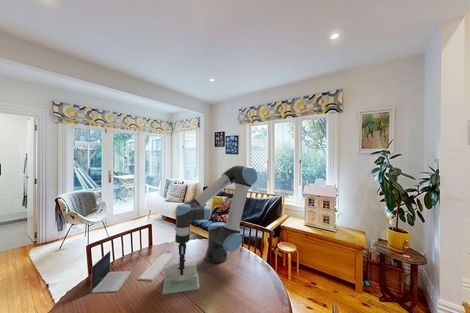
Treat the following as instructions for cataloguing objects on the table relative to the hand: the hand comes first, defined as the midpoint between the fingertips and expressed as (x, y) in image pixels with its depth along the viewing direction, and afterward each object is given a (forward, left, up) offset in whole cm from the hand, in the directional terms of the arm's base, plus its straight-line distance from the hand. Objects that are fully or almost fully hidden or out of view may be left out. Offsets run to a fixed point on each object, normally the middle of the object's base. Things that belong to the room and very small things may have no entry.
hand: (181, 277), depth 107 cm
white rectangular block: (0, 0, 0) cm, 0 cm away
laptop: (+36, -10, -4) cm, 37 cm away
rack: (0, 0, -3) cm, 3 cm away
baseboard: (+15, -22, -4) cm, 26 cm away
